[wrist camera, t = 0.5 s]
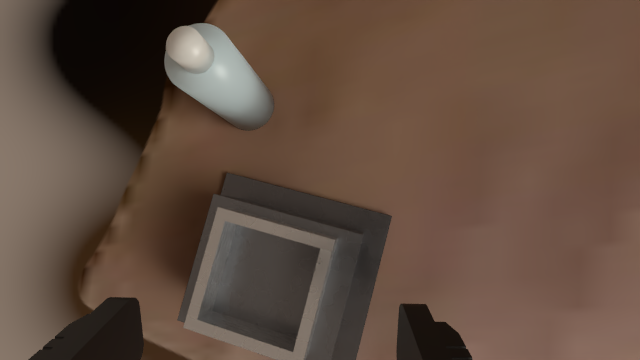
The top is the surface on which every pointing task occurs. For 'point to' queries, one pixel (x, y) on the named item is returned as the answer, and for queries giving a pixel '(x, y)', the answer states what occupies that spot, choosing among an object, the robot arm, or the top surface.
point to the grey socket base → (284, 272)
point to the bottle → (217, 75)
